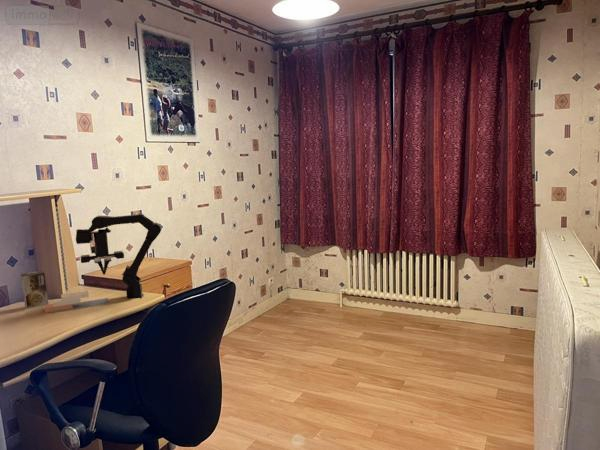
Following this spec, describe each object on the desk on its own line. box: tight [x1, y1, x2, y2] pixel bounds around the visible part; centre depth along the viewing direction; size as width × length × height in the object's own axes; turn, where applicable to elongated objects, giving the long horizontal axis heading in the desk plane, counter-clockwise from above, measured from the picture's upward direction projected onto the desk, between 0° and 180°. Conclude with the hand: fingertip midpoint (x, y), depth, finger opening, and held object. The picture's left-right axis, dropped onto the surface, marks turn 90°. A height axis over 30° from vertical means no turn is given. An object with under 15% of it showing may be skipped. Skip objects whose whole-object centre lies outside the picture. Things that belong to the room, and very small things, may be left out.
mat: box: [51, 297, 111, 314], centre depth 207 cm, size 24×11×1 cm, turn 119°
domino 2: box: [52, 297, 82, 307], centre depth 204 cm, size 2×5×11 cm
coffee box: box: [20, 270, 50, 310], centre depth 208 cm, size 9×6×16 cm
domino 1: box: [44, 303, 73, 313], centre depth 202 cm, size 2×5×11 cm
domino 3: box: [61, 290, 90, 301], centre depth 205 cm, size 2×5×11 cm
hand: (104, 274), depth 213 cm, fingers closed
